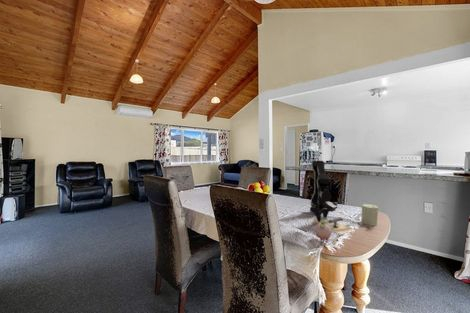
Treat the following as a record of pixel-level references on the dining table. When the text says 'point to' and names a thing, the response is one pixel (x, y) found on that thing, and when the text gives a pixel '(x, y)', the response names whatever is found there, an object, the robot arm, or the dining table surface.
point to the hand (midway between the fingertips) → (321, 220)
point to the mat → (298, 228)
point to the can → (369, 214)
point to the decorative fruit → (323, 231)
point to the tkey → (336, 221)
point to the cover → (322, 220)
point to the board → (338, 229)
